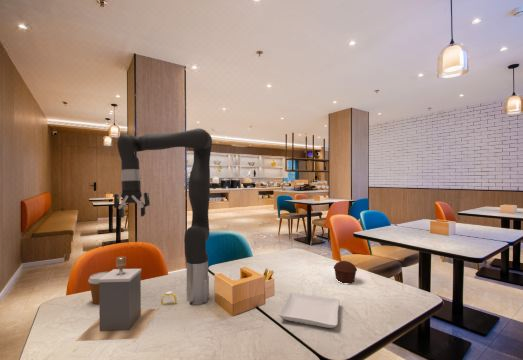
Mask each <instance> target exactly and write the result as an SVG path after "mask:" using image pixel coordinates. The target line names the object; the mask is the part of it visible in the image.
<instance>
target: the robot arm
mask: <svg viewBox="0 0 523 360" xmlns="http://www.w3.org/2000/svg"><path fill="white" fill-rule="evenodd" d="M116 144H117V146H116V147H117V151H118V155H119V157H120V159H121V163H120V164H121V177H120V179H121V180H120V181H121V194H119V193H115V194H114V195H113V208H115V209H118V216H119V217H120V218H121V219H123V218H125V207H126V205H127V204H137V205H139V207H140V217H141V218H142V217H145V215H146V208H147V207H148V206H150V205H151V204H150V195H149V192H142V187H141V185H142V184H141V183H142V182H141V178H142V177H141V172H140V161H139V158H138V157H137V156H136V153H137V152H144V151H159V150H160V151H161V150H167V149H168V150H169V149H173V148H189V149H193V163H192V167H191V170H190V174H189V178H188V199H189V203H190V207H191V213H192V217H191V226H190V227H188V228H187V229H186V230H185V232H184V236H183V237H184V241H183V244H184V257H185V258H186V259H185V260H186V301H187V302H189V304H190V305H193V306H194V305H195V306H196V305H200V304H201V305H202V304H207V303H208V301H209V297H210V287H209V286H210V276H209V255H208V252H207V248H206V247H207V246H206V244H207V243H206V242H207V241H208V239H209V238H210V223H209V222H210V221H209V220H210V219H209V209H210V208H209V206H210V195H211V194H210V193H211V192H210V191H211V168H210V167H211V165H210V164H211V163H210V162H211V153H212V146H213V145H212V144H213V139H212V136H211V134H210V133H209V132H208V131H207V130H205V129H204V128H194V129H188V130H183V131H179V132H172V133H171V132H168V133H149V134H148V133H147V134H146V133H145V134H143V135H142V136H141V135H140V136H134V135H132V134H129V133H123V134H120V135H119V137H118V139H117V143H116ZM141 198H144V202H143V200H142V199H141ZM120 199H122V201H120Z"/></svg>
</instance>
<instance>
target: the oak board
mask: <svg viewBox="0 0 523 360" xmlns="http://www.w3.org/2000/svg"><path fill="white" fill-rule="evenodd" d="M158 310H159V308H145V309H143V308H141V316H140V317H139V319H138V320H137V321H136V322H135V324H134V325H133V326H132V328H131V329H130V330H125V331H100V317H99V318H97V319H96V320H95V321H94V322H93V323H92V324H91V325H90V326H89V327H88V328H87V329H86V330H85V331H84V332H83V333H82V334H81V335H80V336H79V337H77V338H76V339H75V342H81V341H106V340H107V341H108V340H109V341H110V340H111V341H112V340H131V339H132V340H138V339H139V338H140V337H141V335H142V334H143V332H144V331H145V330H146V328H147V326H148V324H150V322H151V321H152V319H153V318H154V316H155V314H156V313H157V312H158Z"/></svg>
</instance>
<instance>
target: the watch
mask: <svg viewBox="0 0 523 360" xmlns="http://www.w3.org/2000/svg"><path fill="white" fill-rule="evenodd" d="M166 296H173V299H174V303H173V305H176V302H177V295H176V294H175V293H173V291H171V290H169V291H166V292H165V293H164V294H163V296H162V297H161V299H160V302H161V303H160V304H161V305H162V306H164V305H165V303H164V301H163V299H164V297H166Z"/></svg>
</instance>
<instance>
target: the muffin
mask: <svg viewBox="0 0 523 360" xmlns="http://www.w3.org/2000/svg"><path fill="white" fill-rule="evenodd" d="M333 269H334V273H335V280H336V279H337V280H338V281H340V282H342V283H352V282H354V283H355V281H356V273H357V272H358V269H357V267H356V266H355V264H354V263H352V262H350V261H348V260H340V261H338V262H336V263H335V264H334V266H333ZM337 280H336V281H337ZM338 281H337V282H338ZM342 283H341V284H342Z"/></svg>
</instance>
